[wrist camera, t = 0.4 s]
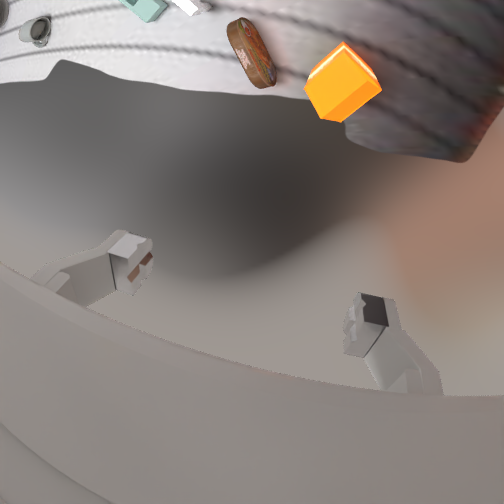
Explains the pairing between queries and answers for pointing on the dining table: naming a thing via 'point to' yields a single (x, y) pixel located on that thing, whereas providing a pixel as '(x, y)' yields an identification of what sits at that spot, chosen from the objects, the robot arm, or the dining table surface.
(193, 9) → the white block
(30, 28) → the ceramic mug
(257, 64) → the tin
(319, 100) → the orange juice
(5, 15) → the mate gourd
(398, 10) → the dining table surface
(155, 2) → the rail
